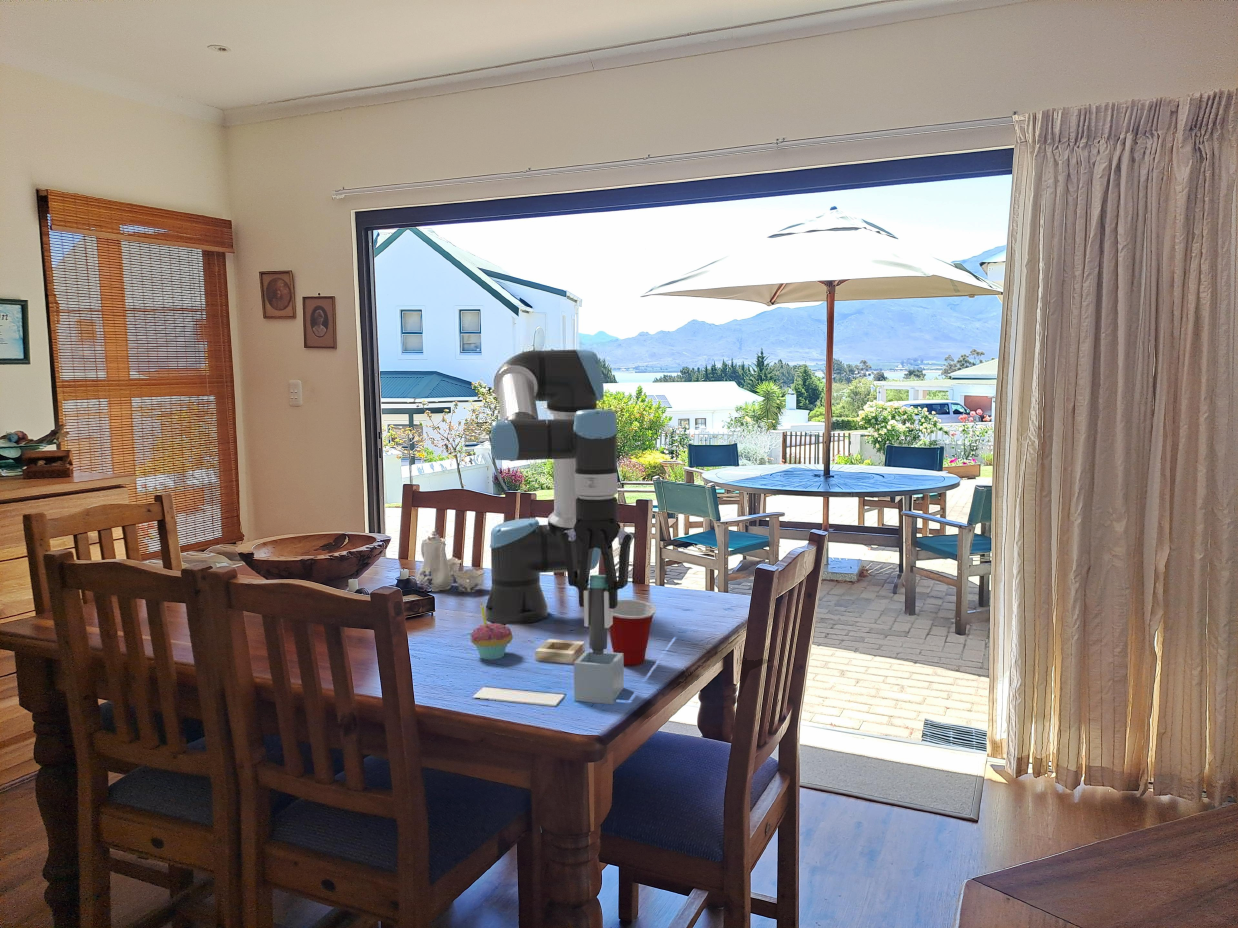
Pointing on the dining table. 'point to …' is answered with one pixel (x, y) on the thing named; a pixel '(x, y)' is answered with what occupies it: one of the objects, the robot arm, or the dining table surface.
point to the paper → (519, 696)
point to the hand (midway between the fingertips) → (598, 624)
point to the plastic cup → (631, 630)
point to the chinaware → (444, 568)
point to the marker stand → (560, 651)
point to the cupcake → (491, 638)
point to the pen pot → (598, 677)
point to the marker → (597, 614)
